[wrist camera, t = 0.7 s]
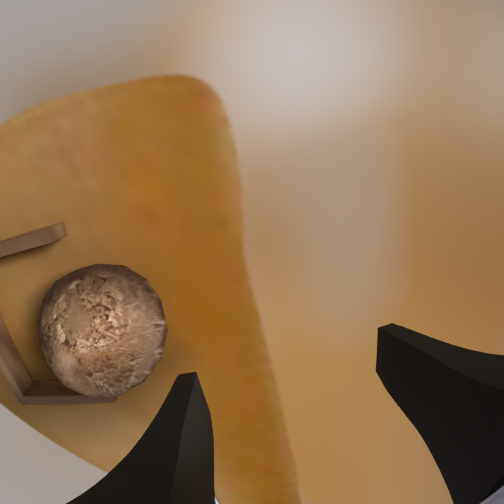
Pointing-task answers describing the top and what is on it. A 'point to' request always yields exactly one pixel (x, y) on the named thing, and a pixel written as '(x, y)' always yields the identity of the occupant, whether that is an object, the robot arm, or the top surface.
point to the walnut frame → (5, 354)
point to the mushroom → (102, 330)
